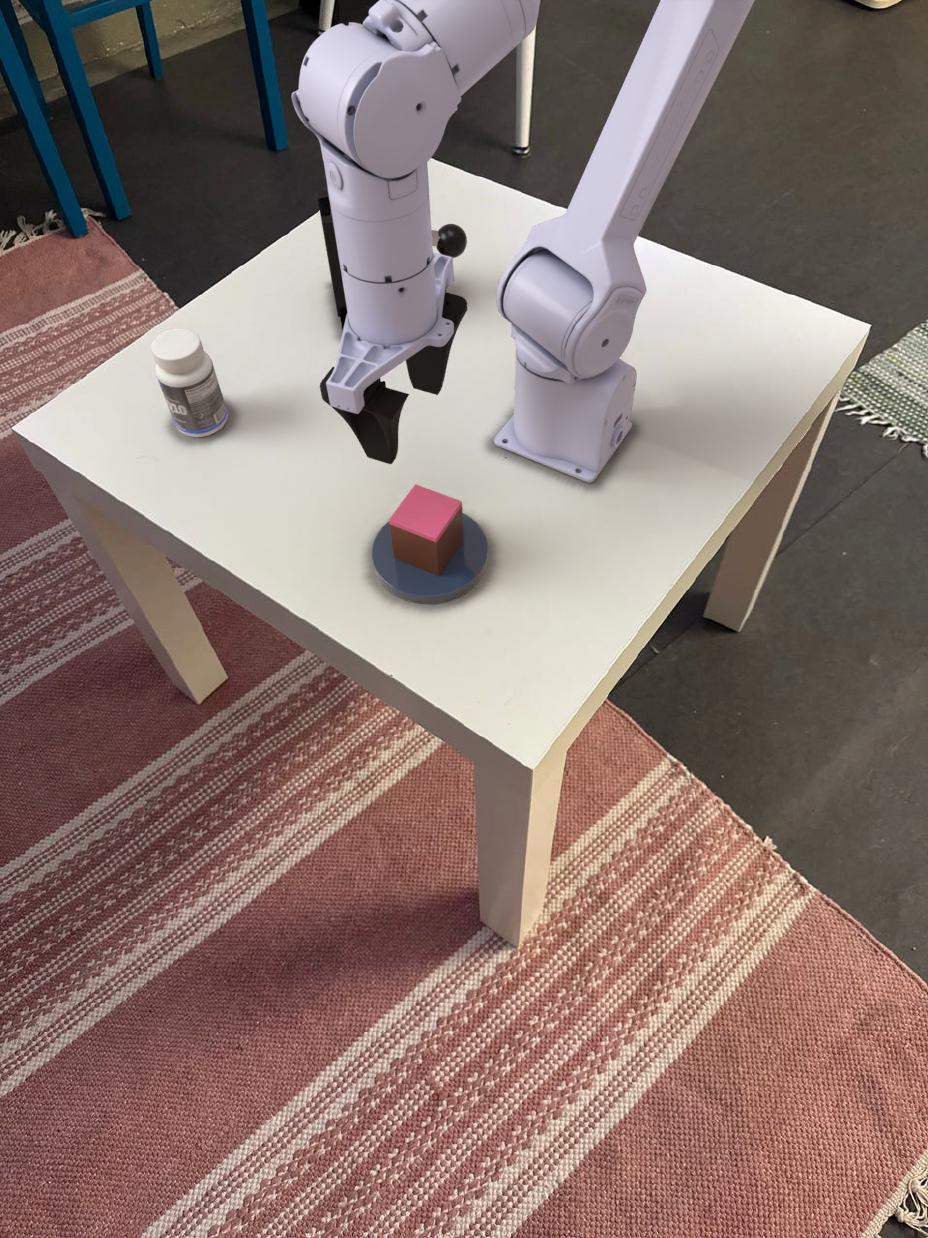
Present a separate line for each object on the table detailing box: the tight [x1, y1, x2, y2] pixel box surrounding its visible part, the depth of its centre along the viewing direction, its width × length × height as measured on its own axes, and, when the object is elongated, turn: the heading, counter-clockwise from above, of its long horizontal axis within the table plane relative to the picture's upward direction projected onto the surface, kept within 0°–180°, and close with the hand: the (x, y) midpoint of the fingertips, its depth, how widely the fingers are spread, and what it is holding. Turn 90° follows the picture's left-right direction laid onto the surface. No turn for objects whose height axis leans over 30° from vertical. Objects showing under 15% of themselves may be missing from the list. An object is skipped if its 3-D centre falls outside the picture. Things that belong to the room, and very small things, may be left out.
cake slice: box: [388, 483, 464, 576], centre depth 69 cm, size 4×4×4 cm
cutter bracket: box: [316, 190, 348, 333], centre depth 86 cm, size 4×8×11 cm, turn 11°
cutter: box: [330, 211, 468, 259], centre depth 84 cm, size 13×3×3 cm, turn 101°
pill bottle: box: [150, 328, 229, 438], centre depth 78 cm, size 5×5×8 cm
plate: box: [371, 512, 489, 605], centre depth 71 cm, size 9×9×1 cm
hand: (404, 422), depth 67 cm, fingers open, 7 cm apart
